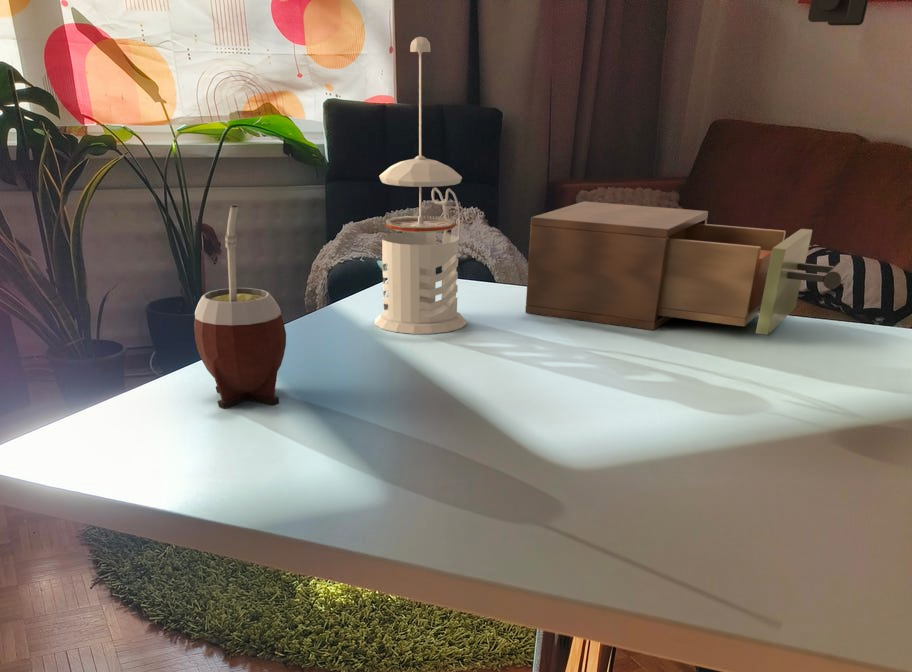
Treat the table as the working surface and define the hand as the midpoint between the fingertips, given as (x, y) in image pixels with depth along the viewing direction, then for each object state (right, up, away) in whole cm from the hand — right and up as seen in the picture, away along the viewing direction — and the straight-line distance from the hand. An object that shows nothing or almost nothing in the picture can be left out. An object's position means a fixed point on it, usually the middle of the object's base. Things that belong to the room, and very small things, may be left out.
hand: (836, 23), depth 82 cm
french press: (-38, -23, +13) cm, 46 cm away
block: (-5, -21, +12) cm, 25 cm away
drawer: (-4, -22, +12) cm, 26 cm away
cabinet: (-17, -19, +19) cm, 32 cm away
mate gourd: (-52, -37, -9) cm, 65 cm away
